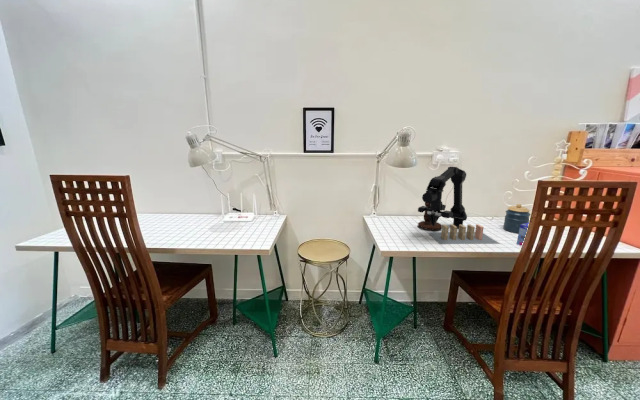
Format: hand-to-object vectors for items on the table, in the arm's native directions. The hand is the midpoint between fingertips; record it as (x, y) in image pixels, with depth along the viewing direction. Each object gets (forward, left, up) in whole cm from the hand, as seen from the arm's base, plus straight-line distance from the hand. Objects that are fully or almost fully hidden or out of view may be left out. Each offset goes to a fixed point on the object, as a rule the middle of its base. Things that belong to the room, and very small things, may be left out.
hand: (433, 225), depth 157 cm
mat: (-1, +18, -9) cm, 20 cm away
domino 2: (0, +12, -8) cm, 14 cm away
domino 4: (0, +22, -8) cm, 23 cm away
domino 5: (0, +27, -8) cm, 28 cm away
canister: (-15, +59, -9) cm, 61 cm away
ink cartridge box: (+9, +49, -9) cm, 51 cm away
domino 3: (0, +17, -8) cm, 19 cm away
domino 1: (0, +7, -8) cm, 11 cm away
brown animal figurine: (-20, +6, -9) cm, 23 cm away
